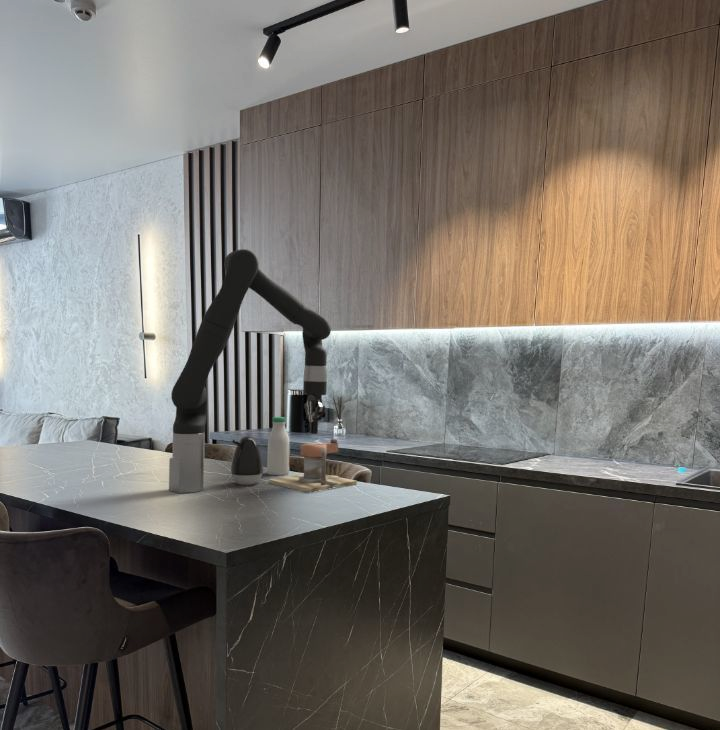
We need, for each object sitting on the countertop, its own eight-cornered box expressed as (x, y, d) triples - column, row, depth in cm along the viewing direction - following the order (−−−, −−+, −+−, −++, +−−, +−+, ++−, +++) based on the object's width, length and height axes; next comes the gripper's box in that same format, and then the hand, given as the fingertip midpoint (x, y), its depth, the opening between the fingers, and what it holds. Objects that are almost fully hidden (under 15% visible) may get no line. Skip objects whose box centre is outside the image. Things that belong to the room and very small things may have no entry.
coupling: (312, 457, 185) (312, 443, 185) (295, 454, 191) (295, 441, 191) (344, 453, 195) (345, 440, 195) (327, 451, 201) (327, 438, 201)
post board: (309, 492, 177) (310, 450, 177) (269, 483, 191) (269, 444, 191) (356, 484, 191) (357, 445, 191) (315, 476, 205) (316, 440, 205)
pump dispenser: (224, 483, 190) (225, 435, 190) (252, 479, 197) (253, 433, 197) (239, 488, 182) (240, 438, 182) (268, 484, 189) (269, 436, 189)
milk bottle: (287, 476, 205) (288, 418, 205) (265, 475, 205) (266, 417, 205) (290, 472, 212) (291, 416, 213) (268, 471, 212) (269, 416, 213)
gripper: (333, 380, 187) (332, 435, 187) (318, 379, 199) (316, 431, 199) (311, 380, 184) (310, 436, 184) (297, 379, 196) (295, 431, 196)
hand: (313, 433), depth 191 cm, fingers closed
